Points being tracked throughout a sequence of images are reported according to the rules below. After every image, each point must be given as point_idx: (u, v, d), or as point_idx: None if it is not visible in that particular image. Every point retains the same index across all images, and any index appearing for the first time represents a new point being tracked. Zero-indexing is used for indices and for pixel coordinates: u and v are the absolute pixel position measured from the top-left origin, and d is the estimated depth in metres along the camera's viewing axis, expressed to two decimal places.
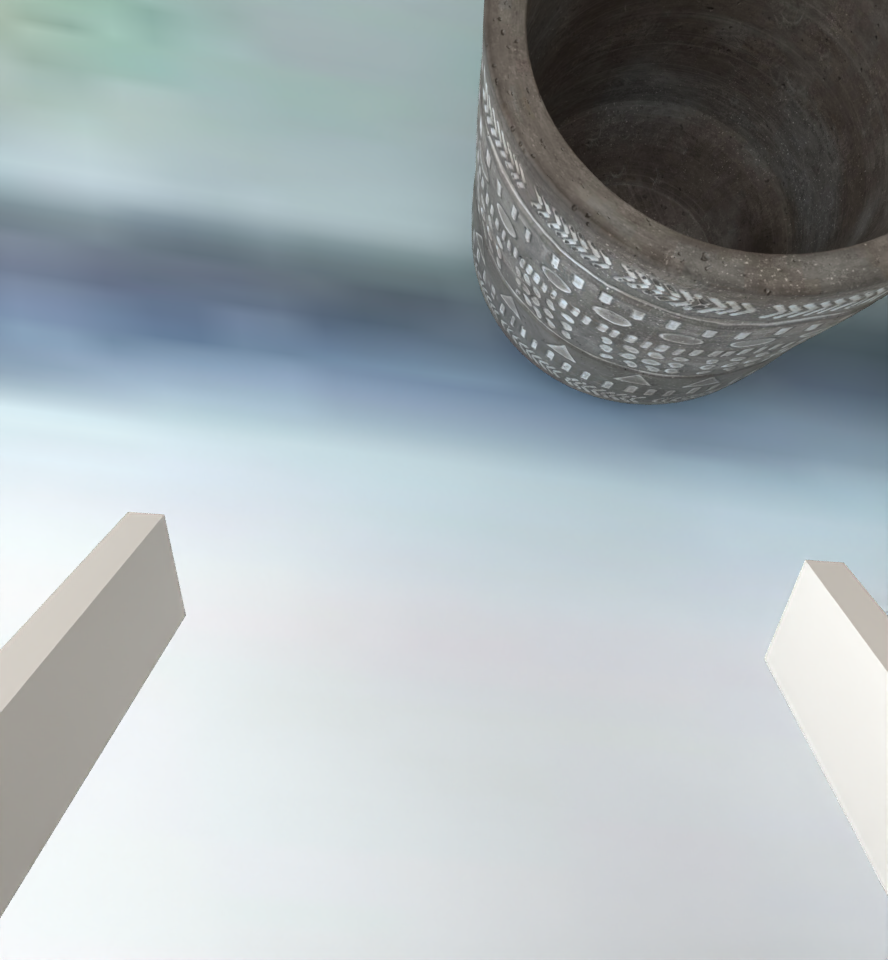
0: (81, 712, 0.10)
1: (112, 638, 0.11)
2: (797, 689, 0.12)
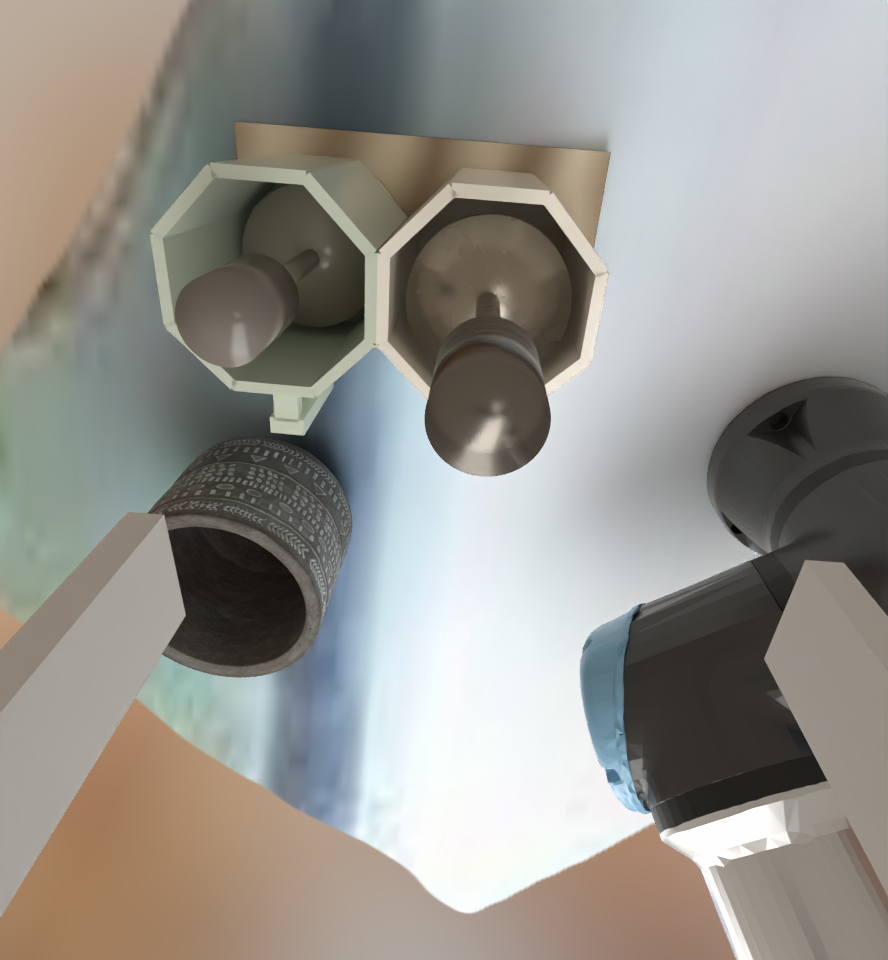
0: (81, 712, 0.10)
1: (111, 638, 0.11)
2: (797, 689, 0.12)
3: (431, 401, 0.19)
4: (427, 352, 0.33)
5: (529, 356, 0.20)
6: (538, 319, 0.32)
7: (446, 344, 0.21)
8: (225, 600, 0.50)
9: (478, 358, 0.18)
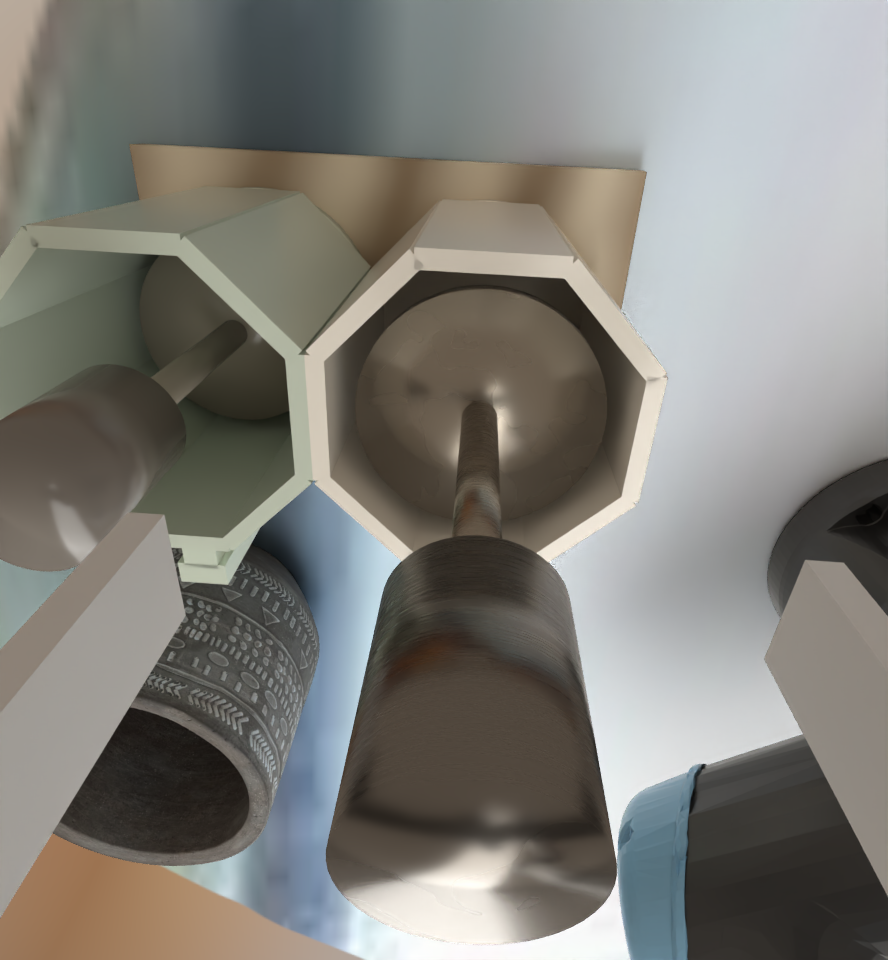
0: (81, 712, 0.10)
1: (112, 638, 0.11)
2: (797, 689, 0.12)
3: (337, 840, 0.08)
4: (392, 484, 0.22)
5: (559, 680, 0.09)
6: (556, 437, 0.21)
7: (390, 608, 0.11)
8: (161, 745, 0.40)
9: (442, 763, 0.07)
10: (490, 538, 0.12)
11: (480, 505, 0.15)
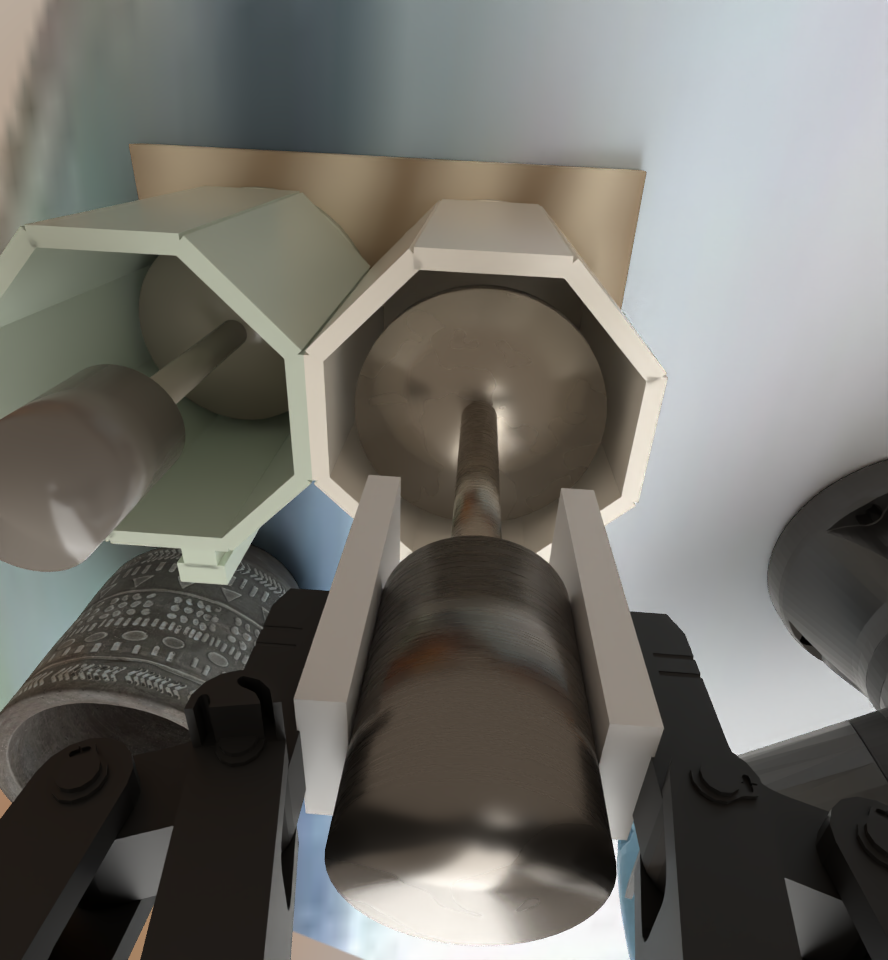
0: None
1: (386, 578, 0.13)
2: None
3: (336, 841, 0.08)
4: None
5: (559, 680, 0.09)
6: (556, 437, 0.21)
7: (389, 609, 0.11)
8: (160, 745, 0.40)
9: (441, 763, 0.07)
10: (489, 538, 0.11)
11: (480, 505, 0.15)
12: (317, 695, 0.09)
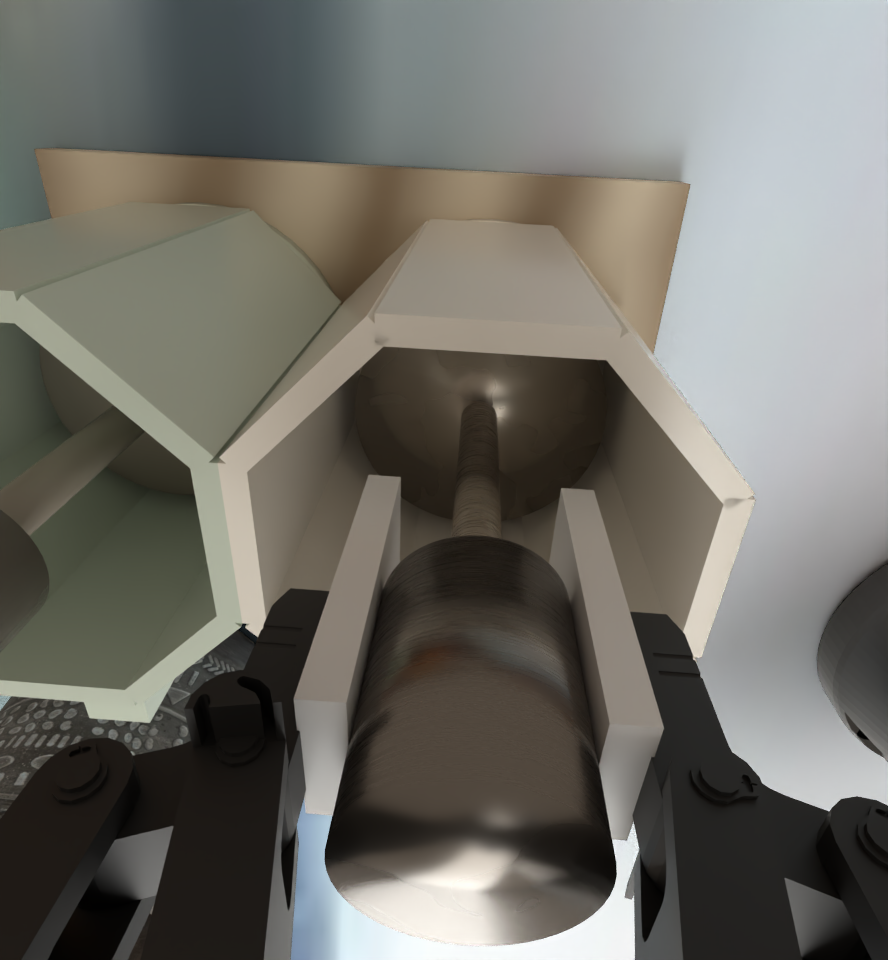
0: None
1: (386, 578, 0.13)
2: None
3: (336, 840, 0.08)
4: None
5: (559, 680, 0.09)
6: (556, 437, 0.21)
7: (389, 608, 0.11)
8: None
9: (441, 762, 0.07)
10: (490, 538, 0.11)
11: (479, 505, 0.15)
12: (317, 695, 0.09)
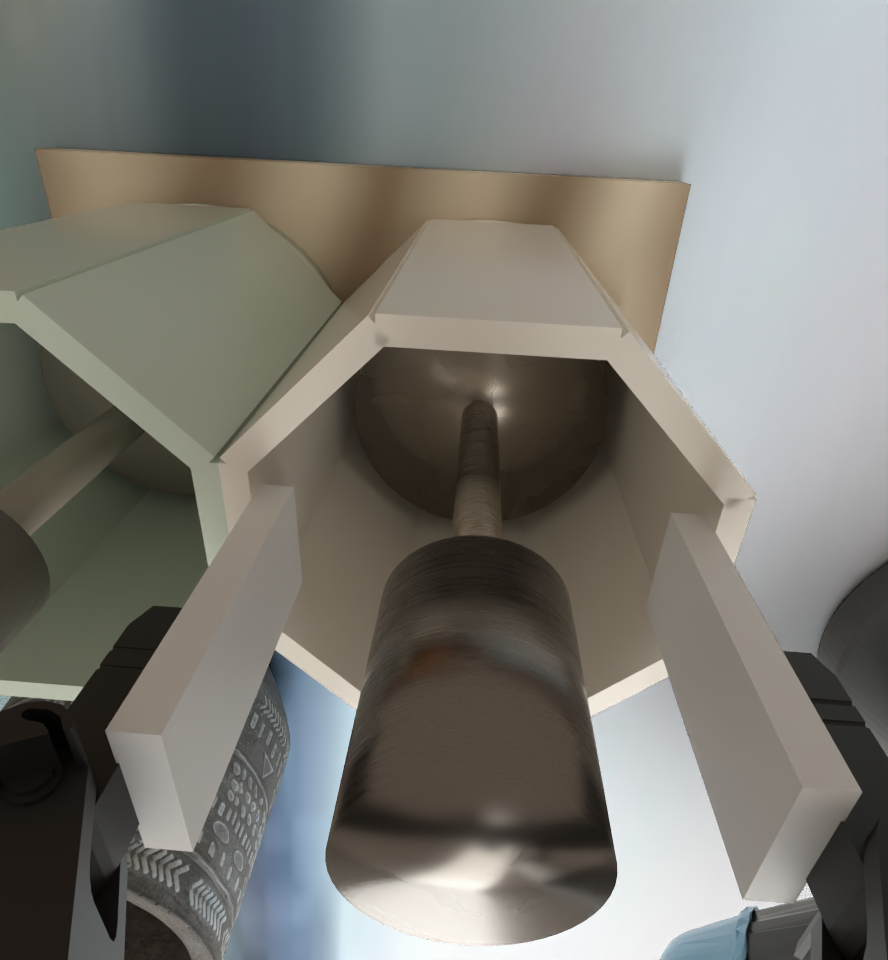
0: (247, 658, 0.11)
1: (264, 594, 0.12)
2: (664, 629, 0.14)
3: (337, 840, 0.08)
4: (392, 483, 0.22)
5: (560, 680, 0.09)
6: (556, 437, 0.21)
7: (390, 608, 0.11)
8: None
9: (442, 763, 0.07)
10: (490, 538, 0.11)
11: (480, 505, 0.15)
12: (133, 726, 0.08)
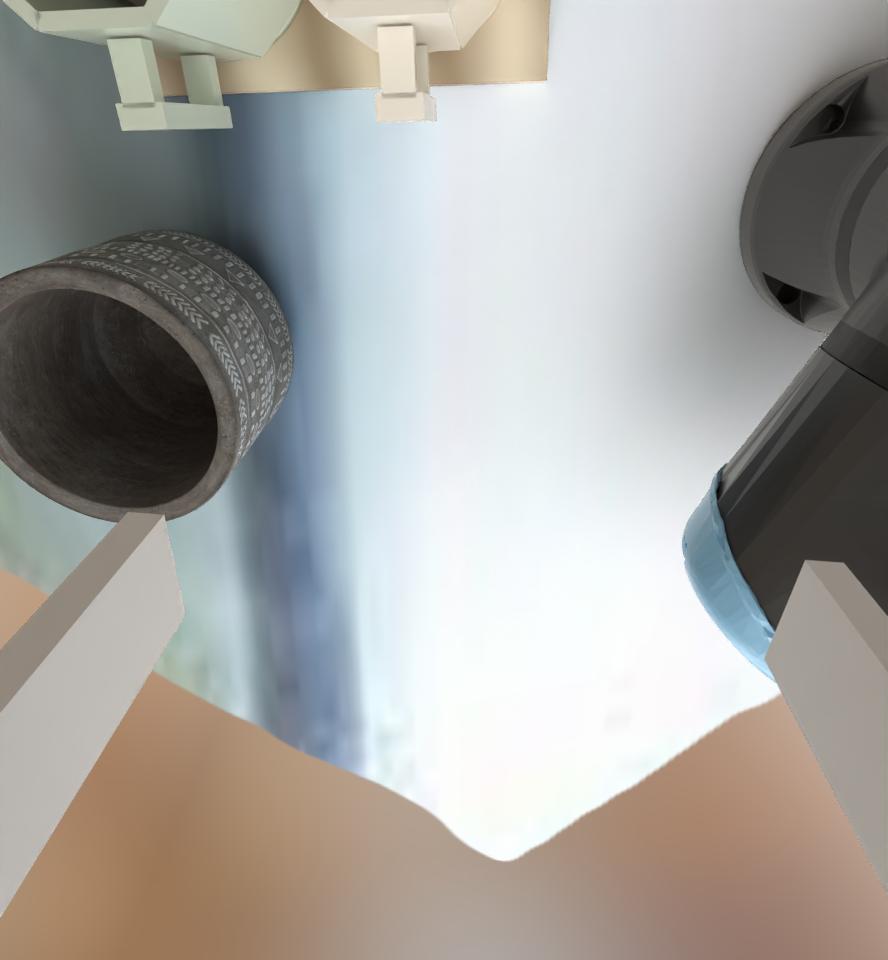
0: (81, 712, 0.10)
1: (111, 637, 0.11)
2: (798, 689, 0.12)
3: None
4: None
5: None
6: None
7: None
8: (143, 450, 0.40)
9: None
10: None
11: None
12: None
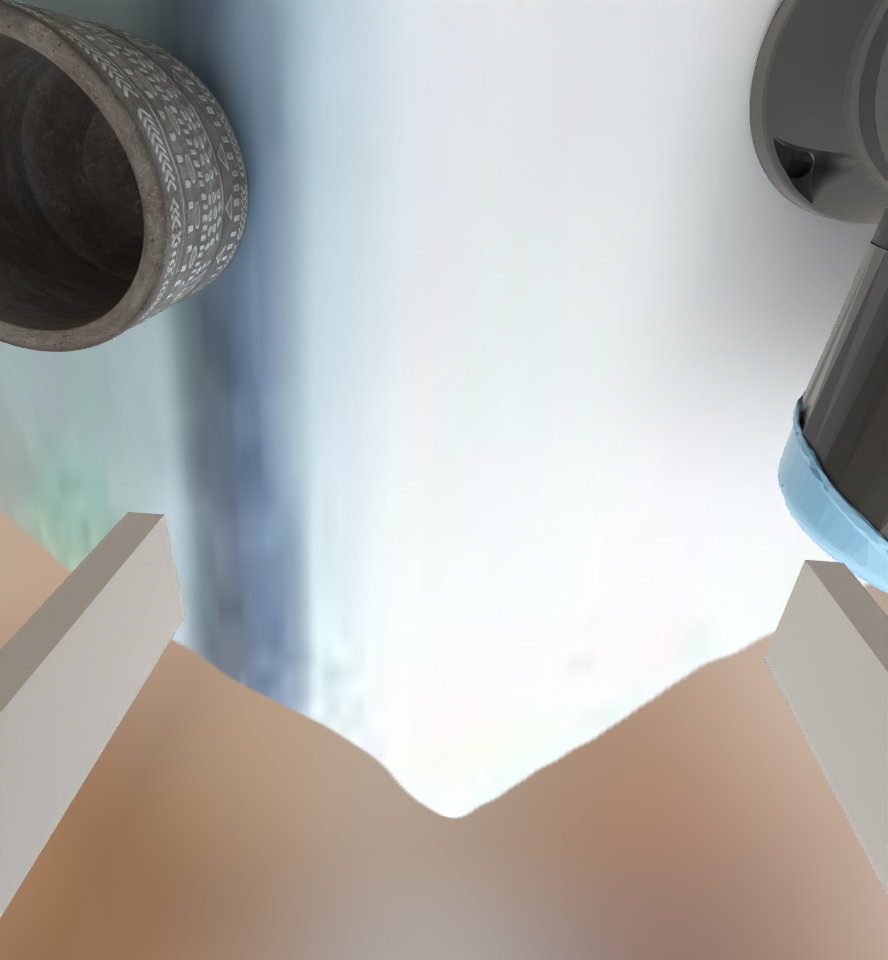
0: (81, 712, 0.10)
1: (112, 637, 0.11)
2: (797, 689, 0.12)
3: None
4: None
5: None
6: None
7: None
8: (69, 288, 0.35)
9: None
10: None
11: None
12: None
